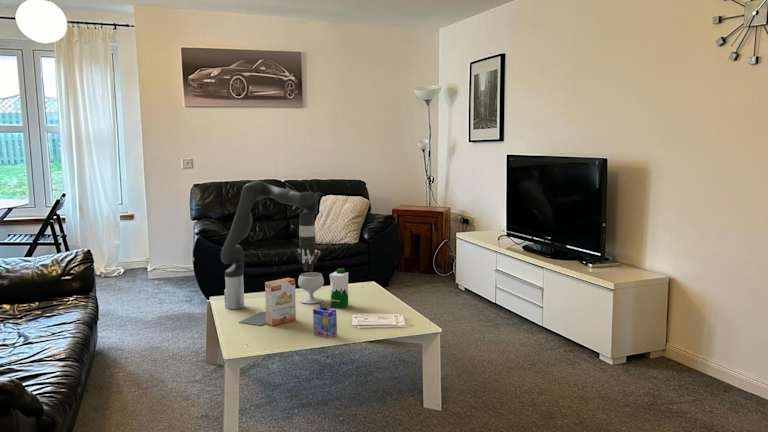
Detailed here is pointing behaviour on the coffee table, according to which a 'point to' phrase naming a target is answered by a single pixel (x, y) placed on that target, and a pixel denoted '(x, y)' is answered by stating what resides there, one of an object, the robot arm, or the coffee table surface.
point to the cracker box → (280, 301)
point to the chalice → (311, 285)
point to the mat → (256, 319)
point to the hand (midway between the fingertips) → (308, 270)
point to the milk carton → (339, 289)
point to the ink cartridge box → (325, 321)
